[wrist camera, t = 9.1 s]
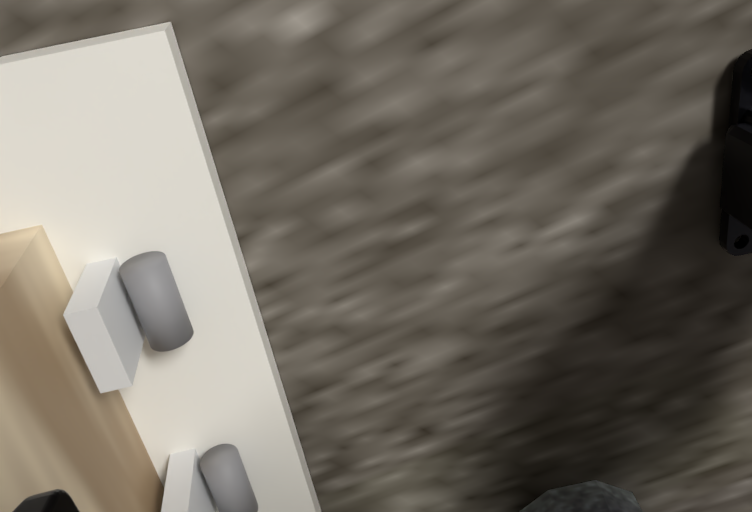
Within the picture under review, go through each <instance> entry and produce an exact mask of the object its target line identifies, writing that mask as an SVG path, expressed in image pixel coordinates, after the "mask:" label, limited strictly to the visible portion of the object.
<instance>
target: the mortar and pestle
mask: <svg viewBox="0 0 752 512" xmlns="http://www.w3.org/2000/svg"><path fill="white" fill-rule="evenodd" d="M519 512H642V510H641V508H640V506H639V504H638V502H637V500H636V499H635V497H634V495H633V493H632V492H630V491H627V490H624V489H621V488H618V487H615V486H612V485H609V484H606V483H603V482H600V481H597V480H593V481H588V482H584V483H579V484H574V485H570V486H565V487H560V488H556V489H551V490H547V491H546V492H545V493H543V494H542V495H541V496H539V497H538V498H537V499H535V500H534V501H533V502H531V503H530V504H529V505H527V506H526V507H525V508H523V509H522V510H521V511H519Z"/></svg>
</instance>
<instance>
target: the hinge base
mask: <svg viewBox="0 0 752 512" xmlns="http://www.w3.org/2000/svg"><path fill="white" fill-rule="evenodd" d="M38 225H42V226H43V228H44V230H45V232H46V234H47V236H48V239H49V241H50V243H51V245H52V247H53V249H54V251H55V254H56V256H57V258H58V260H59V262H60V264H61V267H62V269H63V271H64V273H65V275H66V277H67V280H68V282H69V284H70V286H71V288H72V290H73V294H72V296H71V298H70V301H69V303H68V305H67V307H66V309H65V311H64V314H63V316H64V318H65V320H66V322H67V325H68V327H69V329H70V331H71V333H72V335H73V337H74V339H75V341H76V343H77V345H78V348H79V350H80V352H81V354H82V356H83V358H84V360H85V362H86V364H87V366H88V368H89V370H90V373H91V375H92V377H93V379H94V381H95V383H96V385H97V387H98V389H99V391H100V393H105V392H109V391H113V390H119V392H120V394H121V396H122V398H123V400H124V402H125V405H126V407H127V409H128V411H129V413H130V415H131V418H132V420H133V422H134V424H135V426H136V428H137V431H138V433H139V435H140V437H141V439H142V441H143V443H144V446H145V448H146V450H147V452H148V454H149V456H150V459H151V461H152V463H153V465H154V467H155V469H156V471H157V474H158V476H159V478H160V480H161V482H162V484H163V487H164V496H163V502H162V508H161V512H321V509H320V505H319V502H318V499H317V496H316V492H315V489H314V486H313V483H312V479H311V476H310V473H309V470H308V466H307V463H306V460H305V457H304V453H303V450H302V447H301V444H300V440H299V437H298V434H297V431H296V427H295V424H294V421H293V418H292V414H291V411H290V408H289V405H288V401H287V398H286V395H285V392H284V388H283V385H282V382H281V379H280V375H279V372H278V369H277V366H276V362H275V359H274V356H273V353H272V349H271V346H270V343H269V340H268V336H267V333H266V330H265V327H264V323H263V320H262V317H261V314H260V310H259V307H258V304H257V301H256V297H255V294H254V291H253V288H252V284H251V281H250V278H249V275H248V271H247V268H246V265H245V262H244V258H243V255H242V252H241V249H240V245H239V242H238V239H237V236H236V232H235V229H234V226H233V223H232V219H231V216H230V213H229V210H228V206H227V203H226V200H225V197H224V193H223V190H222V187H221V184H220V180H219V177H218V174H217V171H216V167H215V164H214V161H213V158H212V154H211V151H210V148H209V145H208V141H207V138H206V135H205V132H204V128H203V125H202V122H201V119H200V115H199V112H198V109H197V106H196V102H195V99H194V96H193V93H192V89H191V86H190V83H189V80H188V76H187V73H186V70H185V67H184V63H183V60H182V57H181V54H180V50H179V47H178V44H177V41H176V37H175V34H174V31H173V28H172V24H171V22H167V23H162V24H157V25H152V26H148V27H143V28H138V29H133V30H128V31H123V32H118V33H114V34H109V35H104V36H99V37H94V38H89V39H84V40H80V41H75V42H70V43H65V44H60V45H55V46H50V47H46V48H41V49H36V50H31V51H26V52H21V53H16V54H12V55H7V56H2V57H0V234H2V233H6V232H11V231H15V230H20V229H25V228H29V227H34V226H38Z"/></svg>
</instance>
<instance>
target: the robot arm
mask: <svg viewBox="0 0 752 512" xmlns="http://www.w3.org/2000/svg"><path fill="white" fill-rule="evenodd" d="M751 68H752V49H751V50H749V51H746V52H745V53H743V54H742V55H741V56H740V57H739V58H738V60H737V62H736V63H735V66H734V70H733V81H732V93H731V105H730V117H729V129H728V131H727V133H726V137H725V149H724V162H723V174H722V186H721V198H720V207H721V209H722V213H721V224H720V236H719V242H720V245H721V247H722V248H723V249H724V250H726V251H727V252H728V253H730V254H732V255H734V256H739V255H744V254H748V253H752V75H751V73H750V71H751ZM738 236H741V238H740V239H739V240H738V241H737V242H735V240H736V238H737V237H738ZM734 242H735V243H734ZM12 512H80V511H79V510H78V508H77V506H76V505H75V503H74V501H73V500H72V498H71V496H70V495H69V494H68V493H67V492H66V491H65V490H62V489H55V490H51V491H47V492H43V493H39V494H35V495H32V496H29V497H27V498H26V499H24V500H23V501H22V502H21V503H20V504H19V505H18V506H17V507H16V508H15V509H14V510H13V511H12Z"/></svg>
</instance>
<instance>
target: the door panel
mask: <svg viewBox="0 0 752 512" xmlns="http://www.w3.org/2000/svg"><path fill="white" fill-rule="evenodd" d="M72 294H73V290H72V288H71V286H70V284H69V282H68V280H67V277H66V275H65V273H64V271H63V269H62V267H61V264H60V262H59V260H58V258H57V256H56V254H55V251H54V249H53V247H52V245H51V243H50V241H49V239H48V236H47V234H46V232H45V230H44V228H43V226H42V225H38V226H34V227H29V228H25V229H20V230H15V231H11V232H6V233H2V234H0V512H12V511H13V510H14V509H15V508H16V507H17V506H18V505H19V504H20V503H21V502H22V501H23V500H24V499H26V498H27V497H29V496H32V495H35V494H39V493H43V492H47V491H51V490H55V489H62V490H65V491H66V492H67V493H68V494H69V495H70V496H71V498H72V500H73V501H74V503H75V505H76V506H77V508H78V510H79V511H80V512H161V508H162V502H163V496H164V487H163V484H162V482H161V480H160V478H159V476H158V474H157V471H156V469H155V467H154V465H153V463H152V461H151V459H150V456H149V454H148V452H147V450H146V448H145V446H144V443H143V441H142V439H141V437H140V435H139V433H138V431H137V428H136V426H135V424H134V422H133V420H132V418H131V415H130V413H129V411H128V409H127V407H126V405H125V402H124V400H123V398H122V396H121V394H120V392H119V390H113V391H109V392H105V393H100V391H99V389H98V387H97V385H96V383H95V381H94V379H93V377H92V375H91V373H90V370H89V368H88V366H87V364H86V362H85V360H84V358H83V356H82V354H81V352H80V350H79V348H78V345H77V343H76V341H75V339H74V337H73V335H72V333H71V331H70V329H69V327H68V325H67V322H66V320H65V318H64V316H63V314H64V311H65V309H66V307H67V305H68V303H69V301H70V298H71V296H72Z"/></svg>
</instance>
